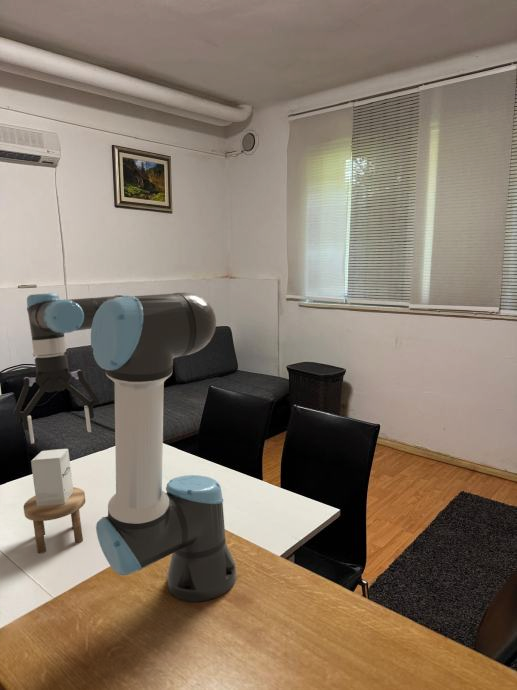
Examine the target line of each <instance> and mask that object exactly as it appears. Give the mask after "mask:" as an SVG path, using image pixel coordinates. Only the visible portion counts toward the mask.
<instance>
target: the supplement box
mask: <svg viewBox="0 0 517 690" xmlns="http://www.w3.org/2000/svg"><path fill="white" fill-rule="evenodd" d="M70 461H71V460H70V453H69V448H59V449H58V448H57V449H49V450H48V449H47V450H41V451H40V452H39V453H37V455H35V457H34V458H33V459H32V460H30V463H31V473H32V478H33V479H32V480H33V486H34V487H33V489H34V492H35V493H34V496H36V503H37V506H50V505H62V504H65V503H66V501H67V500H68V498H69V497H70V496H71V494H72V493H73V487H74V485H73V478H72V477H73V476H72V467H71V462H70Z"/></svg>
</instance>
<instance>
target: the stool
mask: <svg viewBox="0 0 517 690" xmlns="http://www.w3.org/2000/svg"><path fill="white" fill-rule="evenodd" d="M85 504H86V493H85V490H83V489H82V488H78V487H74V486H73V493H72V494H71V496H70V497H69V498H68V500H67V501H66V503H65V504H62V505H50V506H37V503H36V495H33V496H32V497H30V498H29V499H28V500H27V501H26V502H25V503H24V504H23V513H24V517H25V518H26V519H28V520H30V521H32V523H33V524H32V525H33V530H34V536H35V537H34V538H35V545H36V551H37V554H41V555H42V554H44V553H45V552H46V551H47V549H46V548H47V547H46V541H45V536H44V535H46V529H45V522H46V521H52V520H58V519H60V518H64V517H67V516H69V515H70V517H71V526H72V529H73V537H74V543H75V544H81V543H82V542H83V541H84V537H83V531H82V521H81V514H80V509H81V508H83V507H84V505H85Z"/></svg>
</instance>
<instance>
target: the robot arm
mask: <svg viewBox="0 0 517 690" xmlns="http://www.w3.org/2000/svg"><path fill="white" fill-rule="evenodd" d="M26 306H27V308H26V311H27V314H28V322H29V329H30V334H31V343H32V350H33V355H34V356H36V357H35V358H34V365H35V371H36V376H35V377H28V376H25V377H24V378H23V387H22V390H21V393H20V395H19V398H18V400H17V402H16V406H15V407H14V411H13V417H14V418H21V420H22V427H23V430H24V431H25V432H26V431H28V432H29V439H30V445H31V444H32V445H33V444H35V438H34V437H35V436H34V435H35V434H34V428H33V422H32V416H31V415H30V414H31V412H32V411H33V409H34V408H35V407H36V406H37V403H38V402H39V401H40V399H41V397H42V396H43V395H44V394H45V393H54V392H62V391H65V389H66V390H67V391H69V392H70V393H71V394H73V396H75V397H76V398H78V399H79V401H81V402H82V403H84V404H85V405H84V415H85V423H86V430H87V433H92V427H91V426H92V425H91V419H94V418H95V415H94V406H95V405H96V404H99V403H100V399H99V397H98V396H97V395H96V393H95V392H94V391H93V389H92V388H91V387H90V385H89V384H88V383H87V381H86V380H85V377H84V374H83V371H82V370H81V369H77V370H76V371H70V369H69V362H68V355H67V354H66V352H67V346H66V340H65V334H68V333H69V334H70V333H72V332H75V331H76V332H77V331H86V330H90V345H91V349H93V352H92V355H93V358H94V360H95V362H96V364H97V365H98V366H99V368H101V369H103V370H105V375H106V377H107V378H108V379H110V380H111V381H112V382H114V423H115V424H114V433H115V435H114V436H115V438H114V440H115V445H114V446H115V449H114V450H115V453H114V454H115V493H114V494H113V495H112V496H111V497H110V499H109V500H108V503H107V516H102V517H101V518H100V519H99V520H98V521H97V522H96V524H95V525H96V526H95V531H96V536H97V540H98V543H99V546H100V548H101V551H102V553H103V555H104V557H105V559H106V561H107V563H108V565H109V566H110V567H111V569H112V570H113V571H114V572H115V573H117V575H120V576H128V575H130V574H133V573H135V572H139V571H141V570H143V569H144V568H146V567H149V566H150V565H152V564H155V563H156V562H159V561H160V560H162V559H164V558H166V557H168V556H170V555H171V558H170V563H169V565H168V571H167V585H168V587H167V588H168V590H169V592H170V594H171V595H173V596H174V597H175V598H177V599H179V600H181V601H184V602H185V601H186V602H192V603H194V602H205V601H209V600H213V599H216V598H218V597H220V596H222V595H224V594H225V593H227V592H228V591H229V590H231V588H233V586H234V585H235V582H236V581H237V567H236V563H235V559H234V558H233V556H232V553H231V551H230V549H229V547H228V544H227V540H226V529H225V518H224V517H225V516H224V515H225V514H224V498H223V494H222V487H221V484H220V483H219V482H218V481H217V480H216V479H214V478H212V477H210V476H205V475H193V474H191V475H190V474H189V475H183V476H178V477H174V478H172V479H170V480H169V481H168V482H167V484H166V487H165V490H166V491H164V490H163V448H164V447H163V446H164V398H165V397H164V388H165V386H164V385H165V382H166V380H167V379H169V378H170V377H171V376H172V374H173V370H174V369H173V366H174V359H175V358H179V357H185V356H189V355H192V354H195V353H197V352H199V351H201V350H203V349H204V348H205V347H206V346H207V345H208V344H209V343H210V342H211V341H212V338H213V336H214V334H215V332H216V327H217V319H216V314H215V311H214V308H213V307H212V306H211V304H210V303H209V302H208V301H207V299H205V298H203V297H202V296H201V295H197V294H194V293H190V292H174V293H163V294H161V293H160V294H146V295H126V294H124V295H122V294H120V295H118V294H117V295H112V296H111V295H110V296H101V297H100V296H99V297H86V298H85V297H84V298H74V299H73V298H72V299H71V298H70V299H64V298H63V299H60V296H59V294H57V293H56V292H55V293H54V292H49V293H36V294H29V295H28V296H27V298H26ZM72 377H74V379H76V380H78V381H79V383H81V385H82V387H83V388H84V390H85V391H86V392H87V393H88V395H89V396H90V398H91V399H89V398H87V397H86V396H85V395H84V394H82V393H81V392H80V391H78V389H76V388H75V387H74V386H73V385H72V384H71V383H70V382H71V379H72ZM34 383H36V384H37V385H38V386H39V388H38V390H37V392H35V394H34V396H33V397H32V398H31V400H30V401H29V403H28V404H27V406H26V407H25V408H24V410H23V411H22V407H23V406H24V403H25V400H26V398H27V396H28V392H29V389H30V387H32V386H33V384H34Z"/></svg>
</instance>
